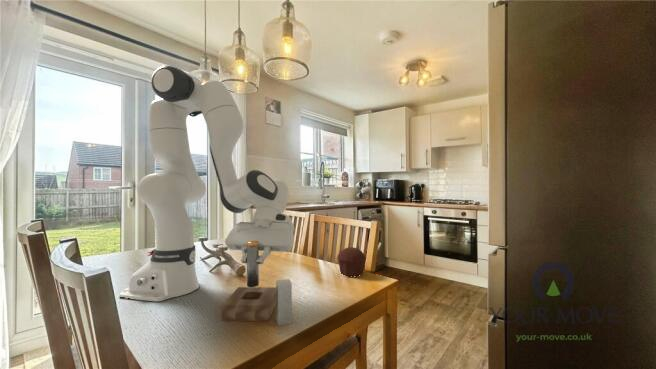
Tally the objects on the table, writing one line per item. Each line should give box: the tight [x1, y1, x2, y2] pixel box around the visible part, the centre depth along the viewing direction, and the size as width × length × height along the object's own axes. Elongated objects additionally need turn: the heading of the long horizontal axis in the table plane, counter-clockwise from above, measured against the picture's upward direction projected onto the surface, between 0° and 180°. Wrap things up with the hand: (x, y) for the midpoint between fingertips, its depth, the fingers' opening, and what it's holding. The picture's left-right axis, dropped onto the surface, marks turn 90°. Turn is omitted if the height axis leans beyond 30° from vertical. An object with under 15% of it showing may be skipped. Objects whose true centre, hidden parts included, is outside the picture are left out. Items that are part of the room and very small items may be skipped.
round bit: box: [246, 241, 260, 287], centre depth 74 cm, size 3×3×12 cm
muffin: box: [336, 246, 367, 278], centre depth 104 cm, size 12×11×10 cm
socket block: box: [221, 286, 276, 322], centre depth 74 cm, size 12×12×4 cm
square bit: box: [275, 278, 293, 327], centre depth 68 cm, size 3×3×10 cm
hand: (251, 262), depth 73 cm, fingers closed on round bit, 3 cm apart
